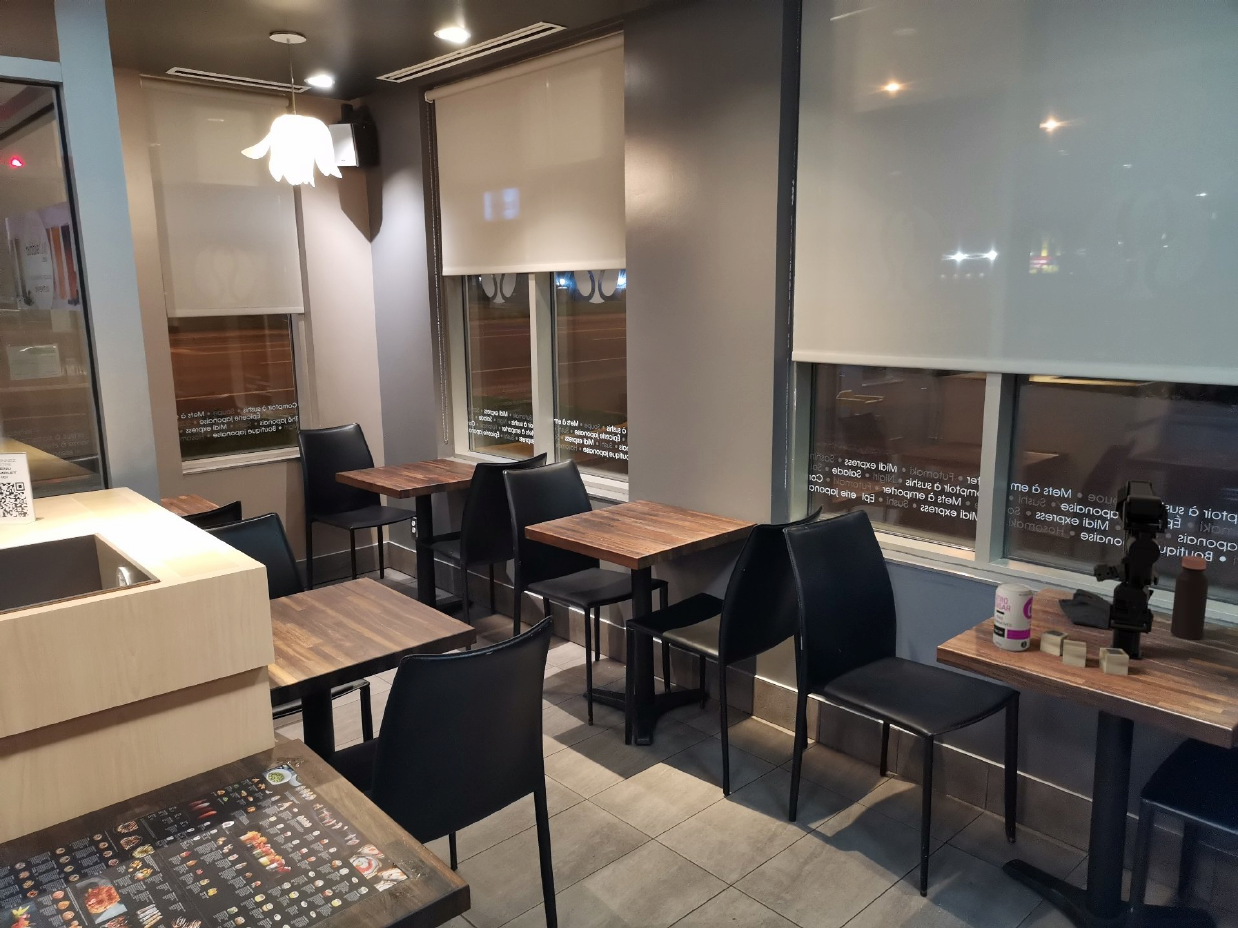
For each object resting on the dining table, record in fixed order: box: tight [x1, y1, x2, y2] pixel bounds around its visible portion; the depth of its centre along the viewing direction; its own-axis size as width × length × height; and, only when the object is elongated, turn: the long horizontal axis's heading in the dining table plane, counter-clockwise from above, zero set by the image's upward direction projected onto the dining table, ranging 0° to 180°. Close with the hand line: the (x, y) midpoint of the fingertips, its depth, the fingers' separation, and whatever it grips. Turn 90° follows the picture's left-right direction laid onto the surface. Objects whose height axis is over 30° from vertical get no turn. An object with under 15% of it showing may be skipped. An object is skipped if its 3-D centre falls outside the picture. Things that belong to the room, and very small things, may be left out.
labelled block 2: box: [1098, 647, 1130, 676], centre depth 195 cm, size 4×4×5 cm
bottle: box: [1170, 555, 1210, 640], centre depth 215 cm, size 7×7×20 cm
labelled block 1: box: [1039, 628, 1070, 657], centre depth 207 cm, size 4×4×5 cm
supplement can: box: [992, 582, 1034, 652], centre depth 210 cm, size 8×8×15 cm
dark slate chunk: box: [1057, 588, 1114, 631], centre depth 231 cm, size 15×22×5 cm
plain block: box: [1062, 639, 1087, 669], centre depth 200 cm, size 4×4×4 cm
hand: (1133, 621), depth 191 cm, fingers closed
